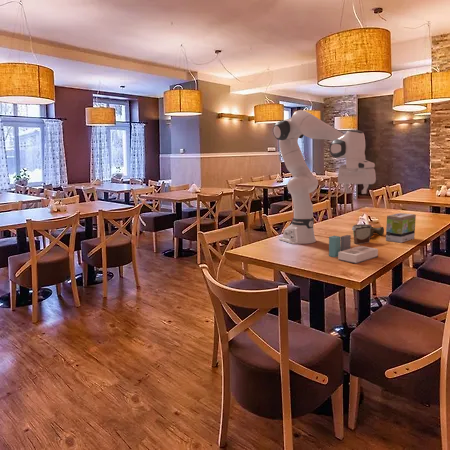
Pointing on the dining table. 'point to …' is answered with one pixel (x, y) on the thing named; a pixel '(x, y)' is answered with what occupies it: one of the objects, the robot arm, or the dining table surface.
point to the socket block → (357, 254)
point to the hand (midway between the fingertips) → (356, 193)
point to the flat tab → (345, 242)
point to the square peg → (334, 245)
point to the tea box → (400, 227)
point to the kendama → (376, 231)
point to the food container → (361, 233)
